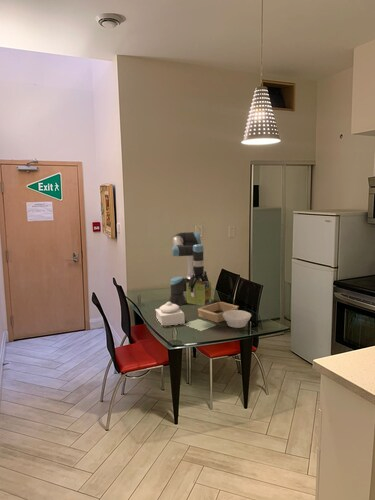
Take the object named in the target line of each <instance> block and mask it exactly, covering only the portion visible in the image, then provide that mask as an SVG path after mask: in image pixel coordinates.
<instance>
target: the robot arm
mask: <svg viewBox="0 0 375 500" xmlns="http://www.w3.org/2000/svg"><path fill="white" fill-rule="evenodd" d="M171 245H172V248H171V251H172V252H171V253H172V254H171V255H172V256H173V257H187V275H186V276H185V278H184V277H183V276H174V277H172V278H171V279H170V280H169V281H170V282H169V283H170V296H169V300H168V302H171V303H172V304H176V305H178V306H183V305H186V304H187V298H186V297H185V292H187V284H186V283H187V282H189V285H188V287H189V288H191V296H192V297H195V295H194V285H195V283H196V281H197V280H199V281H208V282H210V281H209V278H208V275H207V271H204V270H205V267H204V261H205V260H204V250H205V248H204V245H203V244H202V241H201V235H200V233H199V232H198V231H197V232H196V231H195V232H194V231H190V232H179V233H177V234H175V235H173V236H172V238H171Z"/></svg>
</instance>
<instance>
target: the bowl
mask: <svg viewBox="0 0 375 500" xmlns="http://www.w3.org/2000/svg"><path fill="white" fill-rule="evenodd" d="M223 312H224V311H223ZM223 317H224V319H225V320H224V321H226V325H227V326H229V327H230V328H233V329H234V328H235V329H238V328H239V329H240V328H244V327H246V326H247V323H248V322H249V321H250V319H251V317H252V313H251V312H248V311H246V310H240V309H238V310H231V311H227V312H224V313H223Z"/></svg>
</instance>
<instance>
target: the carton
mask: <svg viewBox="0 0 375 500" xmlns="http://www.w3.org/2000/svg"><path fill="white" fill-rule="evenodd" d="M239 307H240V306H239V305H235V304H231V303H228V302H225V301H218V302H215V303H211V304H207V305H205V306H201V307H199V308H197V309H196V310H197V311H198V317H200V318H203V319H205V320H209V321H212V322H215V323H220V322H223V321H225V319H224V317H223V313H224V312H227V311H231V310H239ZM216 311H221V312H219V313H216Z"/></svg>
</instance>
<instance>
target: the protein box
mask: <svg viewBox="0 0 375 500" xmlns="http://www.w3.org/2000/svg"><path fill="white" fill-rule="evenodd" d="M186 284H187V291H186V304H193V305H199V306H202V307H205V306H208V305H210V303H212V282H211V281H209V282H208V281H202V280H201V281H199V280H197V281H196V283H195V285H194V295H195V297H192V296H191V288H189V287H188V285H189V282H187V283H186Z"/></svg>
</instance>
